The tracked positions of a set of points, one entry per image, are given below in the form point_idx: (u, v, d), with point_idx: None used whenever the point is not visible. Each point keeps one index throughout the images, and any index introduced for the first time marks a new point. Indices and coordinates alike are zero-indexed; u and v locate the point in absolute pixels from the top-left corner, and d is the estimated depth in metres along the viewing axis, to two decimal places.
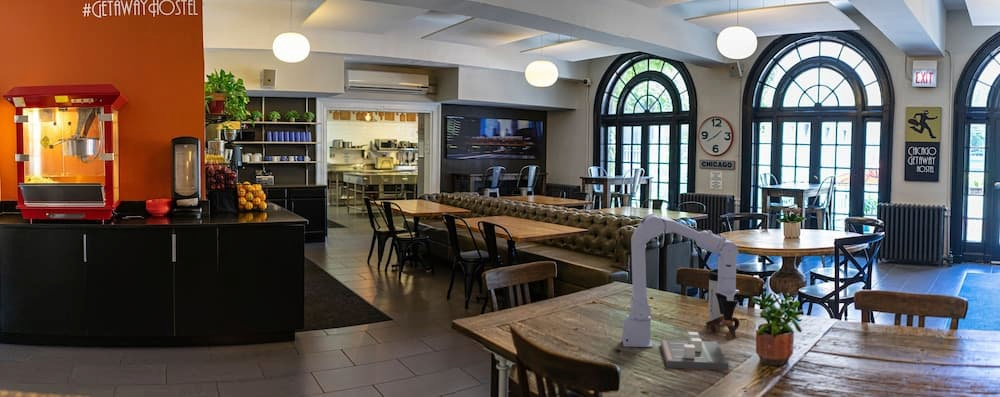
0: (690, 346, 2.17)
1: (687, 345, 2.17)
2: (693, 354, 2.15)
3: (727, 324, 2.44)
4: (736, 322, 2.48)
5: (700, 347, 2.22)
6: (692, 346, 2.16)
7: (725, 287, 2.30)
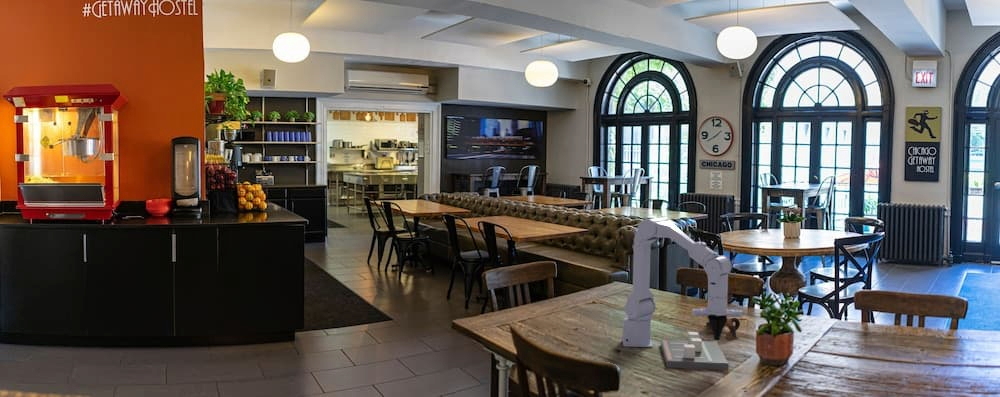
0: (690, 346, 2.17)
1: (687, 345, 2.17)
2: (693, 354, 2.15)
3: (728, 324, 2.43)
4: (737, 322, 2.48)
5: (700, 347, 2.22)
6: (692, 346, 2.16)
7: None
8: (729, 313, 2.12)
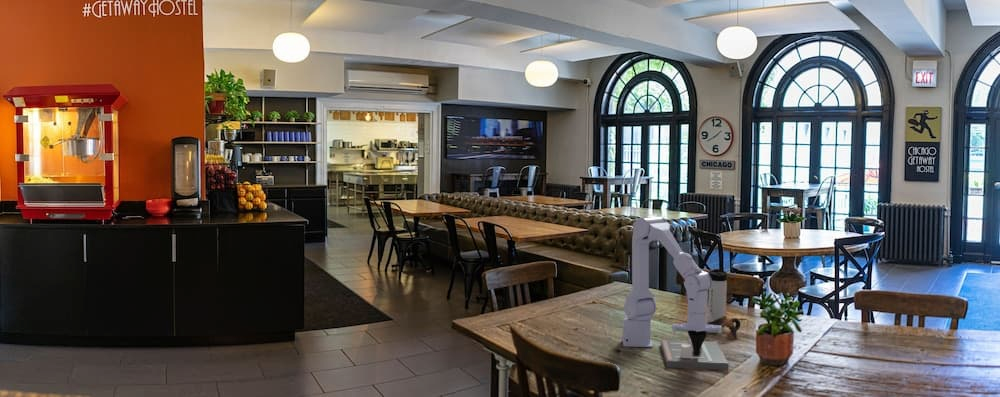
0: (687, 346, 2.17)
1: (684, 345, 2.17)
2: (690, 354, 2.16)
3: (728, 325, 2.42)
4: (737, 323, 2.47)
5: None
6: (689, 346, 2.16)
7: None
8: (708, 329, 2.14)
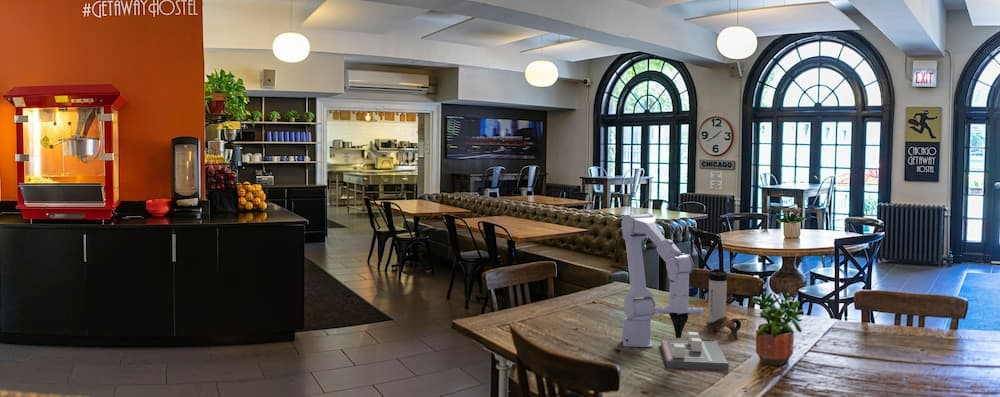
0: (680, 345, 2.17)
1: (677, 345, 2.18)
2: (683, 354, 2.16)
3: (729, 325, 2.42)
4: (738, 323, 2.47)
5: (700, 347, 2.22)
6: (682, 346, 2.17)
7: (669, 302, 2.17)
8: (690, 311, 2.14)
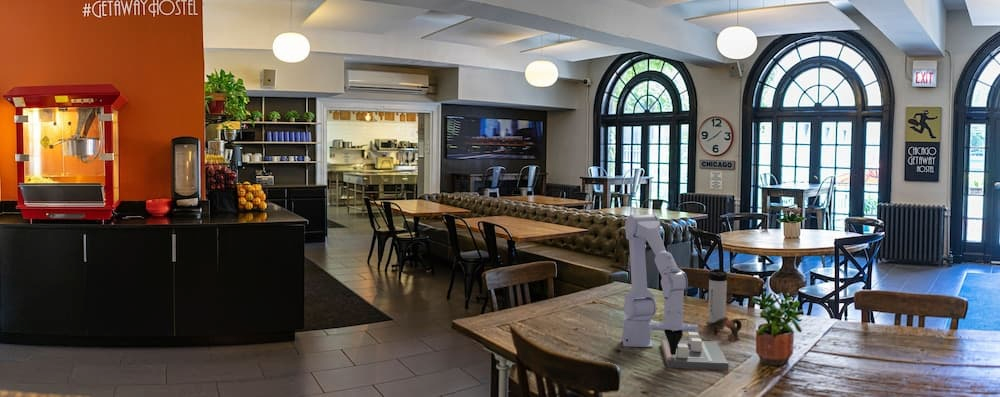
0: (683, 345, 2.17)
1: (680, 345, 2.18)
2: (686, 354, 2.16)
3: (730, 326, 2.41)
4: (738, 324, 2.46)
5: (700, 347, 2.22)
6: (685, 346, 2.17)
7: None
8: (685, 328, 2.14)
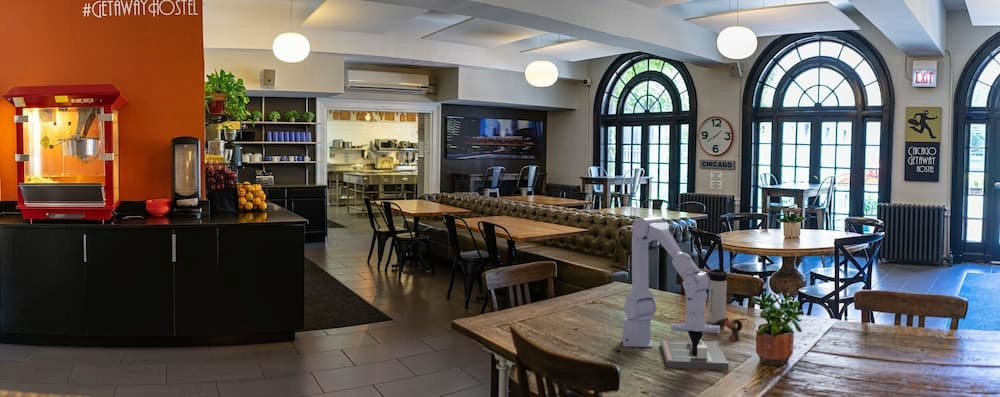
0: (702, 346, 2.16)
1: (699, 345, 2.17)
2: (705, 354, 2.15)
3: (730, 326, 2.41)
4: (739, 324, 2.45)
5: None
6: (704, 346, 2.16)
7: None
8: (707, 329, 2.14)
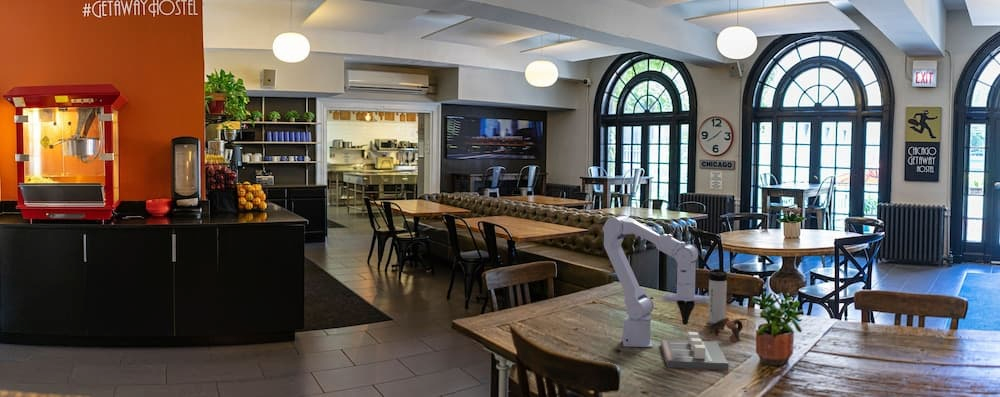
0: (700, 346, 2.16)
1: (697, 345, 2.17)
2: (703, 354, 2.15)
3: (731, 327, 2.40)
4: (739, 324, 2.45)
5: None
6: (702, 346, 2.16)
7: None
8: (696, 299, 2.25)
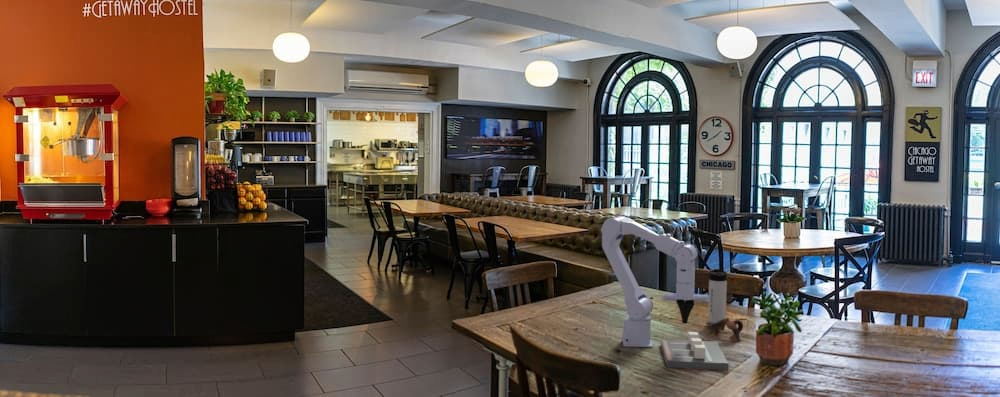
0: (700, 346, 2.16)
1: (697, 345, 2.17)
2: (703, 354, 2.15)
3: (731, 327, 2.40)
4: (740, 325, 2.45)
5: None
6: (702, 346, 2.16)
7: (676, 290, 2.29)
8: (696, 298, 2.26)
